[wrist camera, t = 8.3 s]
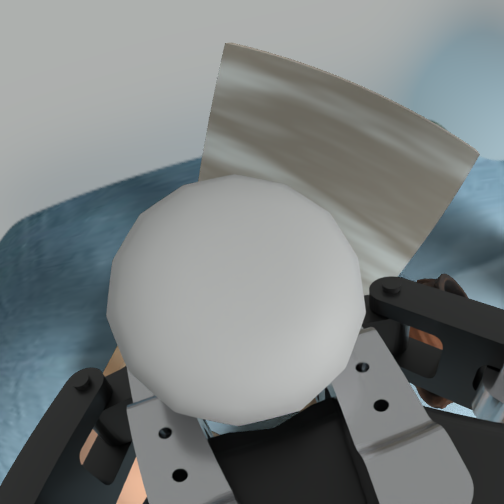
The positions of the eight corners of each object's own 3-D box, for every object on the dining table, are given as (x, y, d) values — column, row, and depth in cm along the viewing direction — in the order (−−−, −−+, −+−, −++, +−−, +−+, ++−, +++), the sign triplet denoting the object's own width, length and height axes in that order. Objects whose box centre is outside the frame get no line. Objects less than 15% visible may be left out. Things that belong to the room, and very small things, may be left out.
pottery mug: (354, 304, 29) (420, 255, 23) (408, 312, 33) (464, 274, 27) (383, 428, 21) (469, 397, 16) (436, 411, 26) (502, 381, 20)
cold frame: (232, 188, 32) (231, 38, 16) (375, 256, 30) (479, 146, 14) (116, 387, 24) (-24, 385, 8) (279, 471, 22) (336, 584, 6)
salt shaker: (166, 323, 17) (24, 199, 5) (259, 279, 18) (299, 88, 6) (213, 420, 15) (146, 537, 3) (309, 371, 16) (478, 348, 4)
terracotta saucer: (98, 398, 24) (93, 399, 23) (195, 457, 22) (193, 460, 21) (62, 474, 20) (57, 476, 19) (150, 531, 19) (148, 535, 18)
